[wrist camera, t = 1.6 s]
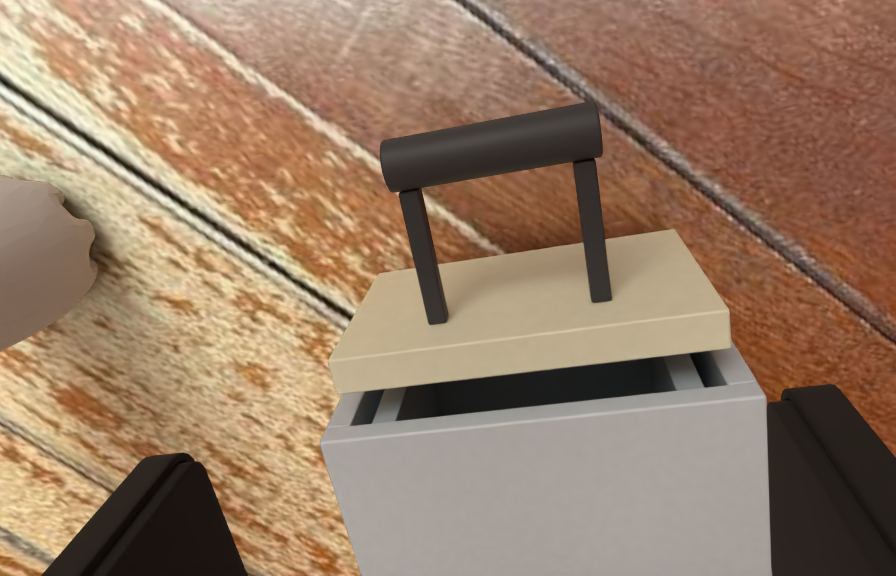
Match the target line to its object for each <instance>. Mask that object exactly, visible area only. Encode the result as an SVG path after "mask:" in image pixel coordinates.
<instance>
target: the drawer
mask: <svg viewBox="0 0 896 576" xmlns="http://www.w3.org/2000/svg"><path fill="white" fill-rule="evenodd" d="M602 153H603V146H602V134H601V126H600V119H599V113H598V109H597V105H596V103H595V102H594V101H591V102H586V103H580V104H575V105H570V106H564V107H559V108H554V109H548V110H543V111H538V112H532V113H527V114H522V115H516V116H511V117H506V118H500V119H495V120H490V121H484V122H479V123H474V124H468V125H463V126H458V127H452V128H447V129H442V130H436V131H431V132H425V133H420V134H415V135H409V136H404V137H399V138H393V139H388V140H384V141H382V142H381V145H380V162H381V168H382V173H383V176H384V180H385V182H386V185H387V187H388V189H389V190H390V191H391V192H400V191H401V192H400V193H399V198H400V203H401V207H402V211H403V216H404V220H405V224H406V229H407V233H408V237H409V242H410V246H411V251H412V255H413V259H414V264H415V268H411V269H405V270H398V271H391V272H385V273H379V274H378V275H377V277H376V279H375V280H374V282H373V284H372V285H371V287H370V289H369V291H368V292H367V294H366V296H365V297H364V299H363V301H362V303H361V304H360V306H359V308H358V309H357V311H356V313H355V315H354V316H353V318H352V320H351V322H350V323H349V325H348V327H347V328H346V330H345V332H344V334H343V335H342V337H341V339H340V340H339V342H338V344H337V346H336V347H335V349H334V351H333V352H332V354H331V356H330V358H329V359H328V365H329V369H330V372H331V375H332V379H333V382H334V386H335V389H336V392H337V394H348V393H356V392H365V391H373V390H381V389H385V391H384V393H383V396H382V399H381V401H380V404H379V406H378V409H377V412H376V414H375V417H374V419H373V422H372V424H375V423H384V422H393V421H403V420H412V419H421V418H430V417H440V416H449V415H458V414H467V413H476V412H486V411H495V410H504V409H513V408H522V407H532V406H541V405H550V404H559V403H568V402H578V401H587V400H596V399H605V398H614V397H624V396H633V395H642V394H651V393H661V392H670V391H679V390H688V389H697V388H705V387H704V385H703V383H702V381H701V379H700V376H699V374H698V372H697V370H696V368H695V366H694V364H693V361H692V359H691V357H690V355H689V353H695V352H704V351H712V350H721V349H729V348H731V328H730V311H729V309H728V308H727V306H726V305H725V303H724V302H723V300H722V299H721V297H720V296H719V294H718V293H717V291H716V290H715V288H714V287H713V285H712V284H711V282H710V281H709V279H708V278H707V276H706V275H705V273H704V272H703V270H702V269H701V267H700V266H699V264H698V263H697V261H696V260H695V259H694V257H693V256H692V254H691V253H690V251H689V250H688V248H687V247H686V245H685V244H684V242H683V241H682V239H681V238H680V236H679V235H678V233H677V232H676V230H675V229H671V230H664V231H657V232H651V233H644V234H637V235H631V236H624V237H618V238H611V239H605V235H604V227H603V218H602V210H601V202H600V193H599V185H598V176H597V168H596V161H595V159H594V158H597V157H601V156H602ZM568 162H573V169H574V176H575V184H576V191H577V199H578V207H579V214H580V222H581V229H582V237H583V243H578V244H571V245H564V246H558V247H551V248H544V249H538V250H531V251H524V252H518V253H511V254H504V255H498V256H491V257H484V258H478V259H471V260H465V261H458V262H451V263H445V264H438V263H437V258H436V254H435V249H434V245H433V240H432V235H431V231H430V226H429V221H428V217H427V212H426V208H425V203H424V198H423V194H422V189H421V188H423V187H429V186H435V185H441V184H446V183H452V182H458V181H464V180H470V179H475V178H481V177H487V176H493V175H499V174H504V173H510V172H516V171H522V170H528V169H534V168H539V167H545V166H551V165H557V164H563V163H568Z"/></svg>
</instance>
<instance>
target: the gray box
mask: <svg viewBox="0 0 896 576" xmlns="http://www.w3.org/2000/svg"><path fill="white" fill-rule="evenodd" d="M689 355H690V357H691V359H692V361H693V364H694V366H695V368H696V370H697V372H698V374H699V376H700V379H701V381H702V383H703V385H704V387H705V388H697V389H688V390H679V391H670V392H661V393H651V394H642V395H633V396H624V397H614V398H605V399H596V400H587V401H578V402H568V403H559V404H550V405H541V406H532V407H522V408H513V409H504V410H495V411H486V412H476V413H467V414H458V415H449V416H440V417H430V418H421V419H412V420H403V421H393V422H384V423H375V424H372V422H373V419H374V417H375V414H376V412H377V409H378V406H379V404H380V401H381V399H382V396H383V393H384V391H385V389H381V390H373V391H365V392H356V393H348V394H343V395H342V397H341V399H340V401H339V403H338V405H337V407H336V409H335V411H334V413H333V415H332V417H331V419H330V421H329V423H328V425H327V429H326V430H325V432H324V434H323V436H322V439H321V441H320V447H321V450H322V453H323V457H324V460H325V463H326V466H327V469H328V472H329V476H330V479H331V482H332V485H333V488H334V491H335V495H336V498H337V501H338V504H339V507H340V510H341V513H342V517H343V520H344V523H345V526H346V529H347V532H348V536H349V539H350V542H351V545H352V548H353V551H354V554H355V558H356V561H357V564H358V567H359V570H360V573H361V576H772V568H771V543H770V511H769V479H768V447H767V399H766V395H765V394H764V392H763V391H762V389H761V387H760V386H759V384H758V383H757V380H756V379H755V377H754V375H753V374H752V372H751V370H750V369H749V367H748V366H747V364H746V362H745V361H744V359H743V358H742V356H741V354H740V353H739V351H738V349H737V348H736V346H735V345H734V343H733V341H732V340H731V348H729V349H721V350H712V351H704V352H695V353H689Z"/></svg>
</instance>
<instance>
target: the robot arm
mask: <svg viewBox="0 0 896 576" xmlns="http://www.w3.org/2000/svg"><path fill="white" fill-rule="evenodd" d="M767 447H768V479H769V511H770V543H771V568H772V575H773V576H896V458H895V456H894V455H893V454H892V453H891V451H890V450H889V449H888V448H887V447H886V445H885V444H884V443H883V442H882V440H881V439H880V438H879V437H878V436H877V434H876V433H875V432H874V431H873V430H872V428H871V427H870V426H869V425H868V423H867V422H866V421H865V420H864V419H863V417H862V416H861V415H860V414H859V412H858V411H857V410H856V409H855V408H854V406H853V405H852V404H851V403H850V402H849V400H848V399H847V398H846V397H845V395H844V394H843V393H842V392H841V391H840V389H839V388H838V387H836V386H835V385H832V384H828V385H818V386H809V387H799V388H790V389H784V390H783V391H782V395H781V401H778V402H769V403H768V405H767ZM41 576H248V575H247V572H246V570H245V567H244V565H243V562H242V560H241V557H240V555H239V552H238V550H237V547H236V545H235V542H234V540H233V537H232V535H231V532H230V530H229V527H228V525H227V522H226V520H225V517H224V515H223V512H222V510H221V507H220V504H219V502H218V499H217V497H216V494H215V492H214V489H213V487H212V484H211V482H210V479H209V477H208V474H207V472H206V469H205V468H204V466H203V465H202V464H201V463H200V462H197V461H194V459H193V458H192V457H191V456H190V455H189V454H186V453H175V454H166V455H156V456H149V457H146V458H144V459H143V460H142V461H141V462H140V463H139V464H138V465H137V466H136V467H135V468H134V469H133V471H132V472H131V473H130V474H129V475H128V476H127V478H126V479H125V480H124V481H123V482H122V483H121V484H120V486H119V487H118V488H117V489H116V490H115V491H114V493H113V494H112V495H111V496H110V497H109V498H108V499H107V501H106V502H105V503H104V504H103V505H102V506H101V507H100V509H99V510H98V511H97V512H96V513H95V514H94V516H93V517H92V518H91V519H90V520H89V521H88V522H87V524H86V525H85V526H84V527H83V528H82V529H81V530H80V532H79V533H78V534H77V535H76V536H75V537H74V539H73V540H72V541H71V542H70V543H69V544H68V545H67V547H66V548H65V549H64V550H63V551H62V552H61V554H60V555H59V556H58V557H57V558H56V559H55V560H54V562H53V563H52V564H51V565H50V566H49V567H48V568H47V570H46V571H45V572H44V573H43V574H42V575H41Z"/></svg>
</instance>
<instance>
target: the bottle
mask: <svg viewBox="0 0 896 576" xmlns="http://www.w3.org/2000/svg"><path fill="white" fill-rule="evenodd" d="M64 198H65V197H64V194H63V192H62V191H60V190H59V189H58V188H56V187H54V186H52V185H50V184H49V183H44V182H40V181H28V180H18V179H14V178H12V177H8V176H4V175H0V352H1V351H3V350H4V349H6V348H8V347H10V346H12V345H14V344H16V343H18V342H20V341H22V340H24V339H26V338H28V337H30V336H32V335H33V334H35V333H37V332H39V331H41V330H42V329H44V328H46V327H47V326H49V325H50V324H52V323H54V322H55V321H57V320H58V319H60V318H61V317H62V316H64V315H65V314H66V313H68V312H69V311H70V310H71V309H72V308H73V307H74V306H75V305H76V304H77V303H78V302H79V301H80V300H81V299H82V298H83V296H84V295H85V294H86V293H87V292H88V291H89V290H90V288H91V286H92V285H93V283H94V281H95V280H96V276H97V273H98V267H97V265H96V263H95V261H93V260H92V259H90V258H89V250H90V246H91V244H92V242H93V240H94V238H95V232H94V228H93V226H92V224H91V223H90V221H88V220H85V219H77V218H75V217H73V216H71V214H70V213H69V212H68V211H67V210H66V209H65V208H64V207H63V206H62V204H63V202H64Z"/></svg>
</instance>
